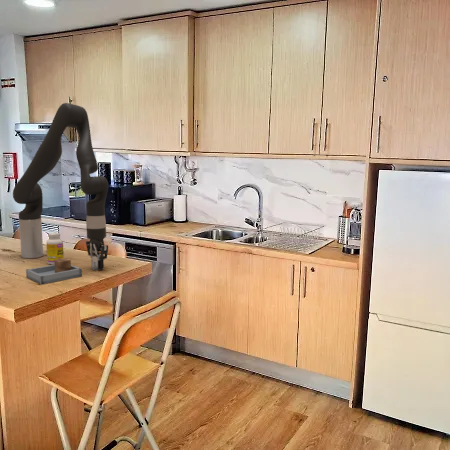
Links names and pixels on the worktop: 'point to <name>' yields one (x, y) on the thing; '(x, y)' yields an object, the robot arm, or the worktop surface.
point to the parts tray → (52, 274)
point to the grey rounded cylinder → (95, 263)
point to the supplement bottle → (54, 248)
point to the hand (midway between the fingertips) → (97, 267)
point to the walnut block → (62, 265)
